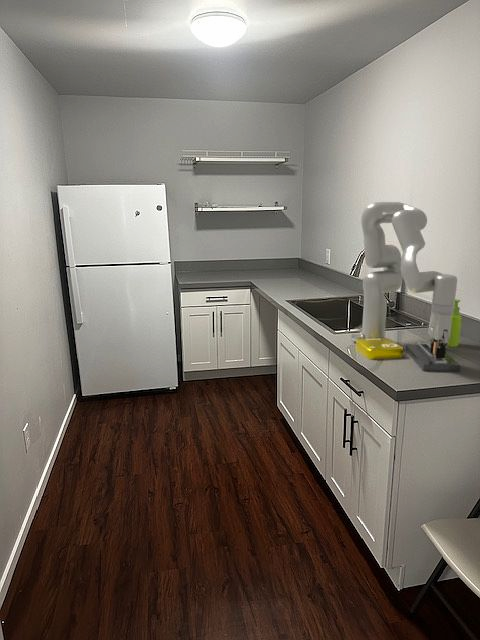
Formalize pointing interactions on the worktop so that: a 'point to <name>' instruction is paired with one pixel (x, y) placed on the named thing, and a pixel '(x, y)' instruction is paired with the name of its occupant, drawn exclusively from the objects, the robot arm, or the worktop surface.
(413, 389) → the worktop surface
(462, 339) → the worktop surface
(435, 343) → the fader knob
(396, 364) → the worktop surface
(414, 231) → the robot arm
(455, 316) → the soap dispenser
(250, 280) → the worktop surface
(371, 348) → the element tile
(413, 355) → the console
